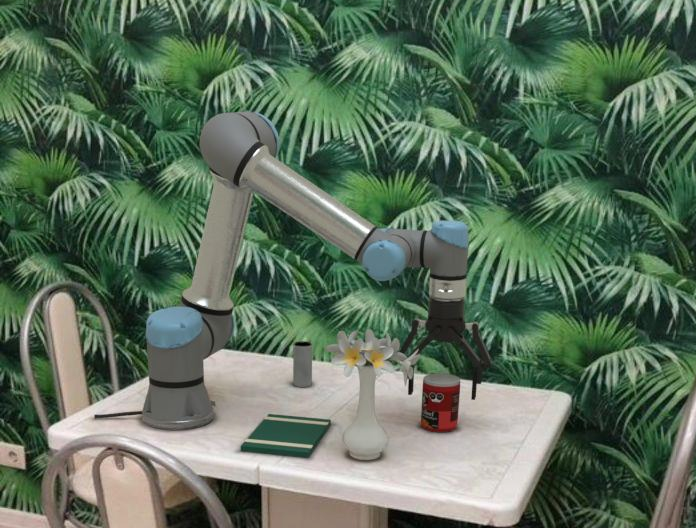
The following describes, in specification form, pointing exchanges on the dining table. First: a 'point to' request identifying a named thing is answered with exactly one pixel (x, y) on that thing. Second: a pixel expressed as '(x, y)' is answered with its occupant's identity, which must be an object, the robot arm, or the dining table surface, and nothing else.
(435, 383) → the canned food
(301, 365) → the grey cylinder
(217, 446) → the dining table surface
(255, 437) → the towel
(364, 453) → the flower vase
